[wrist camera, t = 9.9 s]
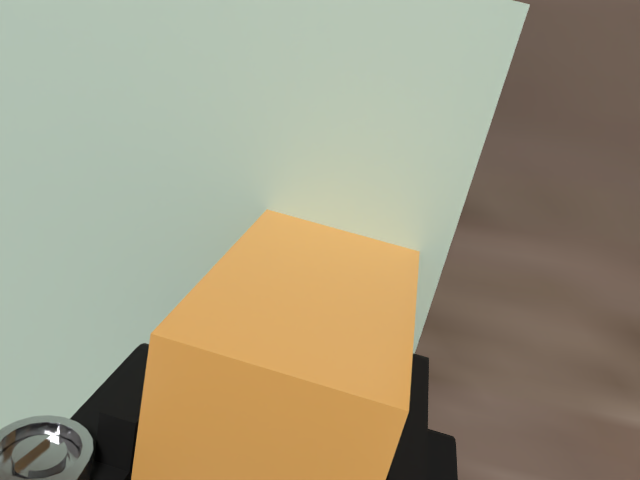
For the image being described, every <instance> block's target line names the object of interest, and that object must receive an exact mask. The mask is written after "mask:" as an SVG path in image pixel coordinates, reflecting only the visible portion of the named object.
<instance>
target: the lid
mask: <svg viewBox="0 0 640 480" xmlns="http://www.w3.org/2000/svg"><path fill="white" fill-rule="evenodd" d="M529 6H530V4H525V3H521V2H517V1H513V0H0V430H1V429H2V428H3V427H5V426H7V425H9V424H11V423H13V422H16V421H18V420H22V419H25V418H29V417H33V416H46V415H51V416H59V417H65V418H68V419H70V418H71V417H72V416H73V415H74V414H75V413H76V412H77V410H78V409H79V408H80V407H81V406H82V405H83V404H84V403H85V402H86V401H87V400H88V399H89V398H90V397H91V396H92V394H93V393H94V392H95V391H96V390H97V389H98V388H99V387H100V386H101V385H102V384H103V383H104V382H105V381H106V380H107V378H108V377H109V376H110V375H111V374H112V373H113V372H114V371H115V370H116V369H117V368H118V367H119V366H120V365H121V364H122V362H123V361H124V360H125V359H126V358H127V357H128V356H129V355H130V354H131V353H132V352H133V351H134V350H135V349H136V348H137V347H138V346H139V345H140V344H142V343H146V344H149V349H148V357H147V364H146V372H145V379H144V386H143V394H142V401H141V409H140V416H139V424H138V431H137V439H136V446H135V454H134V461H133V468H132V476H131V480H386V477H387V475H388V472H389V469H390V466H391V463H392V460H393V457H394V454H395V451H396V448H397V445H398V442H399V439H400V436H401V433H402V430H403V428H404V425H405V422H406V419H407V416H408V413H409V403H410V388H411V373H412V359H413V353H414V354H415V351H416V348H417V345H418V342H419V339H420V336H421V333H422V330H423V327H424V324H425V321H426V317H427V314H428V311H429V308H430V305H431V302H432V299H433V296H434V293H435V290H436V287H437V284H438V281H439V278H440V275H441V272H442V269H443V266H444V263H445V260H446V257H447V254H448V251H449V248H450V245H451V242H452V239H453V236H454V233H455V230H456V227H457V224H458V221H459V218H460V214H461V211H462V208H463V205H464V202H465V199H466V196H467V193H468V190H469V187H470V184H471V181H472V178H473V175H474V172H475V169H476V166H477V163H478V160H479V157H480V154H481V151H482V148H483V145H484V142H485V139H486V136H487V133H488V130H489V127H490V124H491V121H492V118H493V115H494V112H495V108H496V105H497V102H498V99H499V96H500V93H501V90H502V87H503V84H504V81H505V78H506V75H507V72H508V69H509V66H510V63H511V60H512V57H513V54H514V51H515V48H516V45H517V42H518V39H519V36H520V33H521V30H522V27H523V24H524V21H525V18H526V15H527V12H528V9H529Z"/></svg>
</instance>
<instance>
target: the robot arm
mask: <svg viewBox="0 0 640 480" xmlns="http://www.w3.org/2000/svg"><path fill="white" fill-rule="evenodd" d="M148 349H149V344H146V343H142V344H140V345H139V346H138V347H137V348H136V349H135V350H134V351H133V352H132V353H131V354H130V355H129V356H128V357H127V358H126V359H125V360H124V361H123V362H122V364H121V365H120V366H119V367H118V368H117V369H116V370H115V371H114V372H113V373H112V374H111V375H110V376H109V377H108V378H107V380H106V381H105V382H104V383H103V384H102V385H101V386H100V387H99V388H98V389H97V390H96V391H95V392H94V393H93V394H92V396H91V397H90V398H89V399H88V400H87V401H86V402H85V403H84V404H83V405H82V406H81V407H80V408H79V409H78V410H77V412H76V413H75V414H74V415H73V416H72V417H71V418H70V419H68V418H65V417H59V416H51V415H46V416H33V417H29V418H25V419H22V420H18V421H16V422H13V423H11V424H9V425H7V426H5V427H3V428H2V429H1V430H0V480H131V476H132V468H133V461H134V454H135V446H136V439H137V431H138V424H139V416H140V409H141V401H142V394H143V386H144V379H145V372H146V364H147V357H148ZM428 379H429V358H427V357H424V356H420V355H417V354H414V353H413V359H412V373H411V388H410V403H409V413H408V416H407V419H406V422H405V425H404V428H403V430H402V433H401V436H400V439H399V442H398V445H397V448H396V451H395V454H394V457H393V460H392V463H391V466H390V469H389V472H388V475H387V477H386V480H458V477H457V457H456V442H455V438H454V437H453V436H450V435H447V434H443V433H440V432H437V431H433V430H430V429H428Z"/></svg>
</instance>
